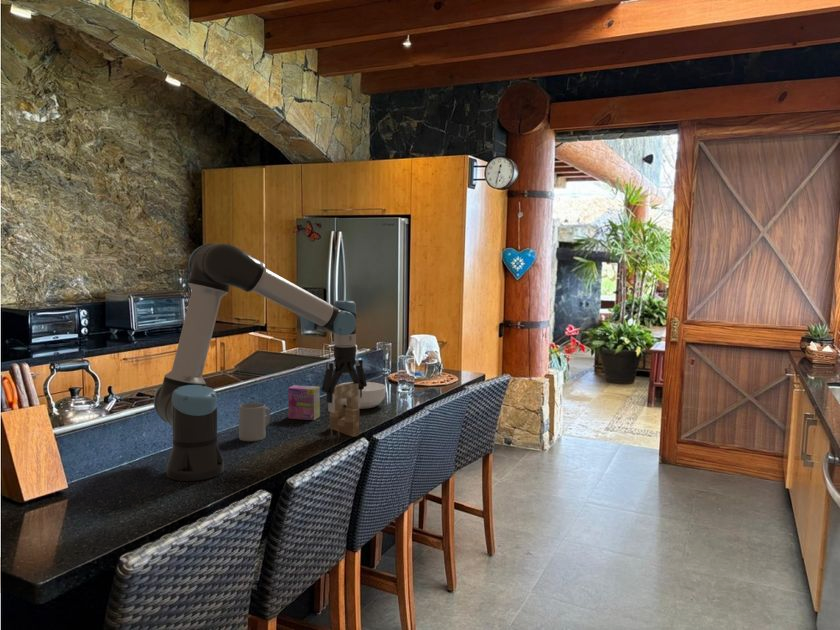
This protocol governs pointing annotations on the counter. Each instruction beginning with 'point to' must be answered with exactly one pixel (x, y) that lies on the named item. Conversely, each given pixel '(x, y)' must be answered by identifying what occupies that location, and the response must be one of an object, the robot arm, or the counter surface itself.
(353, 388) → the notched wooden horseshoe piece
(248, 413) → the mug
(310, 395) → the box
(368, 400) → the bowl
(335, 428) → the notched wooden block
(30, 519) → the counter surface
